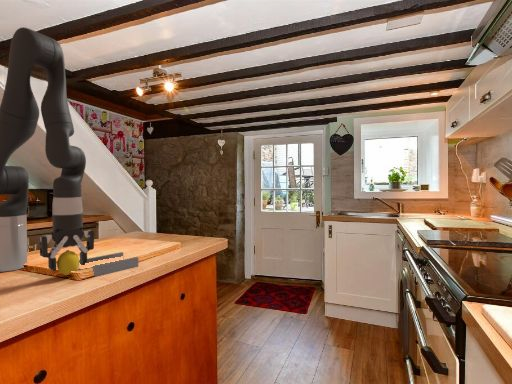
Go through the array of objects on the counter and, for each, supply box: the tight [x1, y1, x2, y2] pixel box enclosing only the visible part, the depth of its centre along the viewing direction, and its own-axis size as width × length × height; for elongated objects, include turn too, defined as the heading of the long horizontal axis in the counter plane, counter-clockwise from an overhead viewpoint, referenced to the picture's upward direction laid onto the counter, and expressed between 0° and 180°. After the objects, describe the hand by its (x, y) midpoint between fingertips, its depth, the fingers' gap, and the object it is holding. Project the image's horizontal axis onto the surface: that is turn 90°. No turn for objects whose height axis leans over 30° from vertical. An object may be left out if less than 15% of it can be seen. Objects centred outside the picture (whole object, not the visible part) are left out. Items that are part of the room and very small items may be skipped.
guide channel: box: [79, 251, 139, 277], centre depth 96 cm, size 11×14×3 cm
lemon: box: [56, 249, 80, 276], centre depth 87 cm, size 6×6×8 cm
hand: (68, 267), depth 87 cm, fingers open, 7 cm apart
